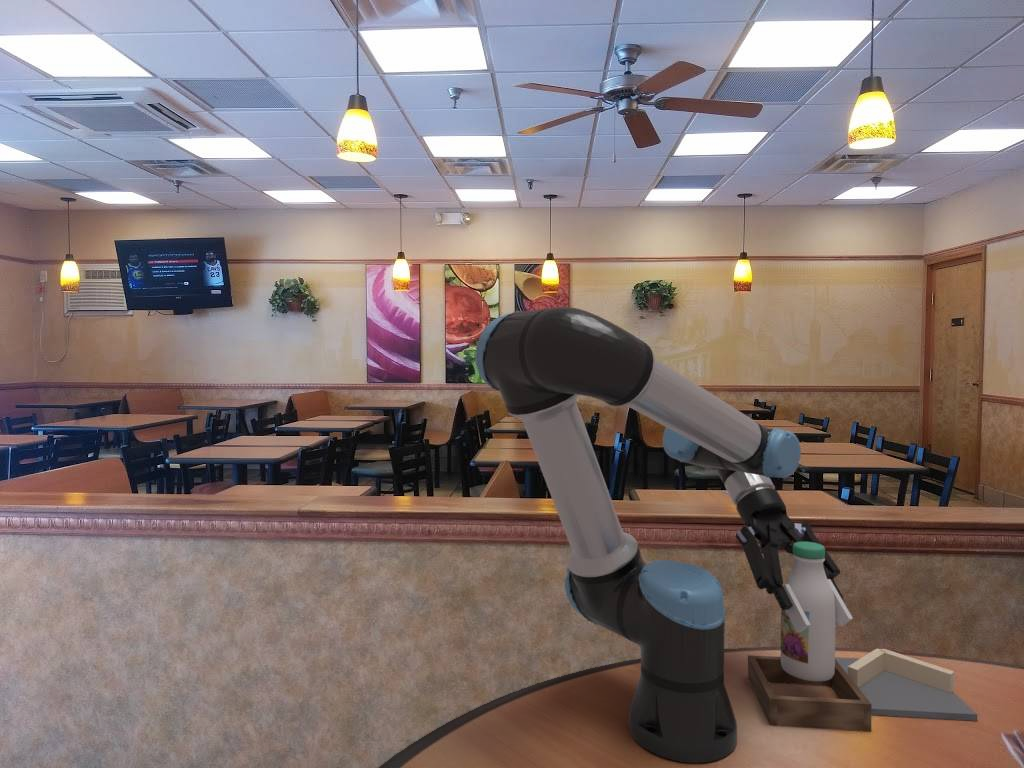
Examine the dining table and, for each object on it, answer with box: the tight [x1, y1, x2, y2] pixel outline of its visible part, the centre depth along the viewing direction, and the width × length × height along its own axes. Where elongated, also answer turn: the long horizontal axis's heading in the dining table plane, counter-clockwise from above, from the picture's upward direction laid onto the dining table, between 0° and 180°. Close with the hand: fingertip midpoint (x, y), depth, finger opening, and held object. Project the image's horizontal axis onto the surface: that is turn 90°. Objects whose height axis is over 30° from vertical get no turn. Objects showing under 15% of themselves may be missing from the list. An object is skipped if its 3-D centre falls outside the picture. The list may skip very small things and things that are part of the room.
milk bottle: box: [780, 542, 836, 681], centre depth 100 cm, size 8×8×20 cm
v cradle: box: [835, 647, 978, 722], centre depth 104 cm, size 16×17×4 cm
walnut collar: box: [747, 655, 872, 732], centre depth 100 cm, size 14×14×4 cm
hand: (825, 625), depth 97 cm, fingers closed on milk bottle, 7 cm apart
